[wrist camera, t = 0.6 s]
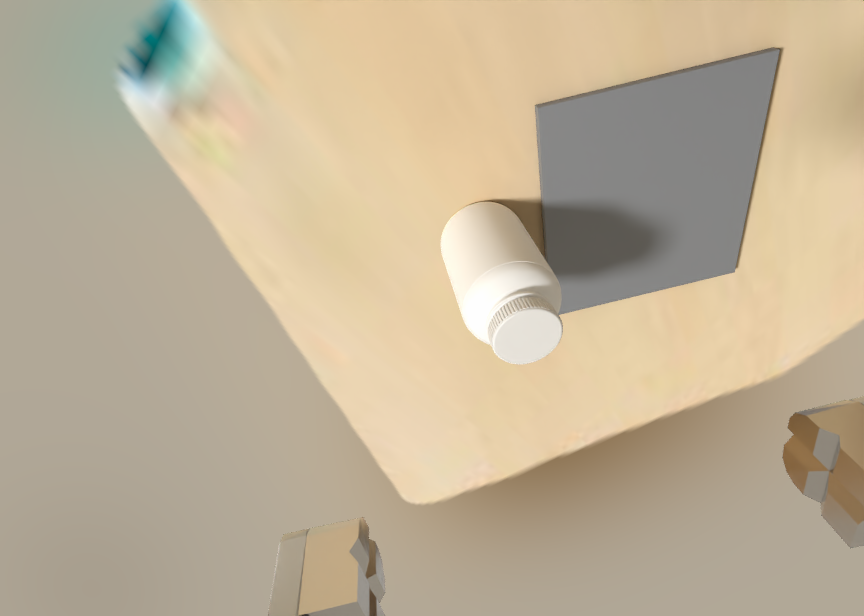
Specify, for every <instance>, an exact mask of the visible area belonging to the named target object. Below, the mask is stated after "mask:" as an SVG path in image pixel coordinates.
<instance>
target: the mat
mask: <svg viewBox="0 0 864 616" xmlns="http://www.w3.org/2000/svg"><path fill="white" fill-rule="evenodd" d="M779 51H780V49H777V48H769V49H765V50H761V51H757V52H753V53H749V54H744V55H740V56H736V57H732V58H728V59H724V60H720V61H716V62H711V63H707V64H703V65H699V66H695V67H691V68H687V69H683V70H678V71H674V72H670V73H666V74H662V75H658V76H654V77H650V78H645V79H641V80H637V81H633V82H629V83H625V84H621V85H617V86H612V87H608V88H604V89H600V90H596V91H592V92H588V93H583V94H579V95H575V96H571V97H567V98H563V99H559V100H555V101H550V102H546V103H542V104H538V105H535V112H536V127H537V142H538V157H539V172H540V187H541V202H542V217H543V232H544V247H545V260H546V262H547V263H548V265H549V266H550V268H551V269H552V271H553V273H554V274H555V276H556V278H557V279H558V282H559V284H560V288H561V306H560V310H559V313H558V315H560V314H564V313H568V312H572V311H576V310H580V309H585V308H589V307H593V306H597V305H601V304H605V303H609V302H613V301H618V300H622V299H626V298H630V297H634V296H638V295H642V294H646V293H651V292H655V291H659V290H663V289H667V288H671V287H675V286H679V285H684V284H688V283H692V282H696V281H700V280H704V279H708V278H713V277H717V276H721V275H725V274H729V273H733V272H735V268H736V263H737V258H738V253H739V248H740V243H741V238H742V233H743V229H744V224H745V219H746V214H747V209H748V204H749V199H750V194H751V189H752V184H753V179H754V174H755V169H756V165H757V160H758V155H759V150H760V145H761V140H762V135H763V130H764V125H765V120H766V115H767V110H768V105H769V100H770V96H771V91H772V86H773V81H774V76H775V71H776V66H777V61H778V56H779Z"/></svg>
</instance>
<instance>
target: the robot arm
mask: <svg viewBox="0 0 864 616" xmlns="http://www.w3.org/2000/svg"><path fill="white" fill-rule="evenodd" d="M788 429H789V430H790V431H791V432H792V433H793V434H794V435H793V436H792V437H791V438H790V439H789V440H788V441H787V442H786V443H785V444H784V450H783V457H782V458H783V461H784V464H785V468H786V471H787V473H788V475H789V477H790V478H791V480H792V482H793V483H794V484H795V486H796V487H797V488H798V489H799V490H800V491H801V493H802V494H803V495H805V496H807V497H809V498H811V499H814V500H816V501H818V502H820V503H821V516H823V518H824V519H825V520H826V521H827V522H828V523H829V525H830V526H831V527H832V528H833V529H834V530H835V531H836V533H837V534H838V535H839V536H840V537H841V538H842V539H843V540H844V541H845V543H846V544H847V545H848V546H849V547H850V548H854V547H859V546H864V396H863V397H859V398H855V399H851V400H844V401H839V402H836V403H832V404H828V405H824V406H820V407H816V408H812V409H808V410H804V411H800V412H796V413H794V414H793V416H791V417H790V419H789V423H788ZM384 594H385V579H384V571H383V564H382V559H381V556H380V552H379V549H378V547H377V545H376V543H375V541H372V540H370V539H369V527H368V525H367V523H366V521H365V520H364V517H361V518H357V519H352V520H348V521H342V522H337V523H333V524H328V525H323V526H318V527H314V528H309V529H304V530H300V531H296V532H291V533H287V534H284V535H283V537H282V539H281V541H280V543H279V549H278V555H277V561H276V567H275V574H274V580H273V586H272V592H271V599H270V604H269V611H268V616H385V614H384V612H383V610H382V608H381V606H380V604H379V603H380V601H381V599H382V598H383V596H384Z"/></svg>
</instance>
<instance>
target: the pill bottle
mask: <svg viewBox="0 0 864 616" xmlns="http://www.w3.org/2000/svg"><path fill="white" fill-rule="evenodd" d="M441 252H442V257H443V260H444V263H445V266H446V269H447V272H448V275H449V278H450V281H451V284H452V287H453V290H454V293H455V296H456V299H457V302H458V305H459V308H460V311H461V314H462V317H463V320H464V322H465V324H466V326H467V328H468V329H469V330H470V332H471V333H472V334H473V335H474V336H475V337H477V338H478V339H479V340H481V341H483V342H485V343H487V344H489V345H491V346H492V348H493V351H494V352H495V354H496V355H497V356H498V357H499V358H501V359H502V360H504V361H506V362H508V363H512V364H527V363H532V362H535V361H537V360H540V359H542V358H543V357H545V356H547V355H548V354H549V353H550V352H552V351H553V350H554V348H555V347H556V346H557V345H558V343H559V341H560V339H561V336H562V332H563V325H562V321H561V319H560V317H559V315H558V313H559V310H560V306H561V288H560V284H559V282H558V279H557V278H556V276H555V274H554V273H553V271H552V269H551V268H550V266H549V265H548V263H547V262H546V260H545V258H544V257H543V255H542V254H541V252H540V251H539V249H538V247H537V246H536V244H535V243H534V241H533V240H532V238H531V236H530V235H529V233H528V232H527V230H526V229H525V227H524V226H523V224H522V222H521V221H520V219H519V218H518V217H517V215H516V214H515V213H514V212H513V211H511V210H510V209H509V208H507V207H506V206H504V205H501V204H499V203H495V202H478V203H474V204H471V205H468V206H466V207H464V208H462V209H461V210H459V211H458V212H457V213H455V214H454V215H453V216H452V217H451V219H450V220H449V221H448V223H447V224H446V226H445V228H444V230H443V233H442V237H441Z"/></svg>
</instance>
